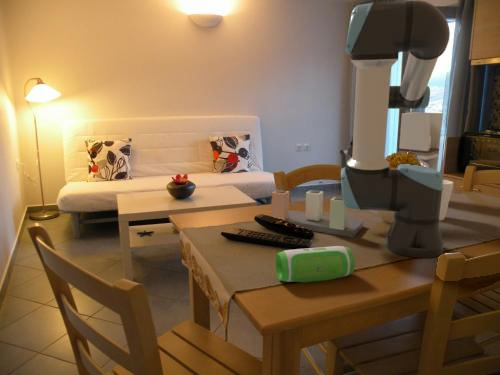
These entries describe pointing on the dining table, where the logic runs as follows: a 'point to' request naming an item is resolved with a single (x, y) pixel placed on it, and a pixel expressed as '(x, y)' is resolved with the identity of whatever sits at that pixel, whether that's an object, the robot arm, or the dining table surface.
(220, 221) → the dining table surface
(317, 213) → the white upright block
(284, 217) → the pink rectangular block
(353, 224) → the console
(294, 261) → the speaker
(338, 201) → the pale green block
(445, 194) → the foam cup
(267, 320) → the dining table surface
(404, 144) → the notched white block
